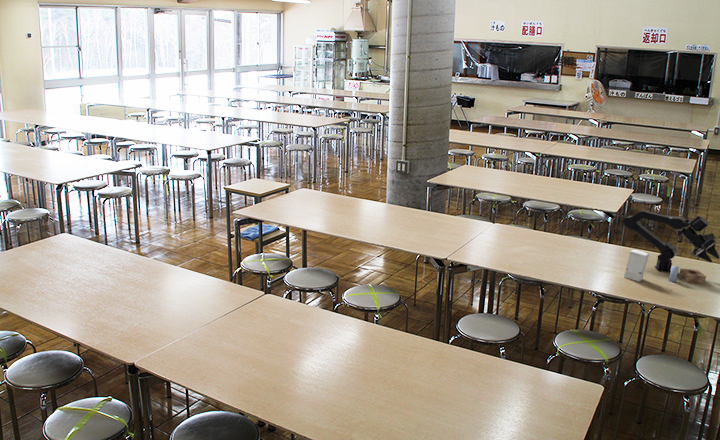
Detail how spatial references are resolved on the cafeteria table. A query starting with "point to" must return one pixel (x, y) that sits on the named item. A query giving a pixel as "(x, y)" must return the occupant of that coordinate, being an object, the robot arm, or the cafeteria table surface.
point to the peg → (673, 273)
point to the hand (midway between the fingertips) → (715, 260)
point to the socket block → (692, 276)
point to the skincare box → (636, 265)
